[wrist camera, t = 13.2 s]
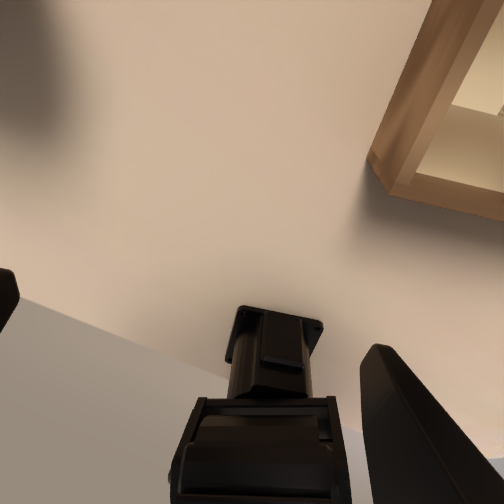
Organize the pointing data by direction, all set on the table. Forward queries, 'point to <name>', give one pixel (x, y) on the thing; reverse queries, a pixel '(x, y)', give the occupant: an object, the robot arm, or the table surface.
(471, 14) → the walnut box
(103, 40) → the table surface
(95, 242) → the table surface
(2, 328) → the robot arm
